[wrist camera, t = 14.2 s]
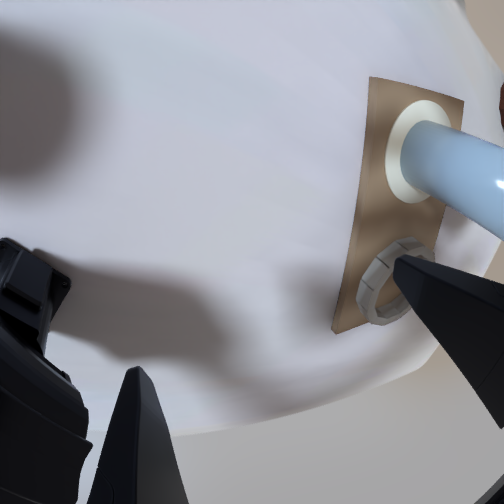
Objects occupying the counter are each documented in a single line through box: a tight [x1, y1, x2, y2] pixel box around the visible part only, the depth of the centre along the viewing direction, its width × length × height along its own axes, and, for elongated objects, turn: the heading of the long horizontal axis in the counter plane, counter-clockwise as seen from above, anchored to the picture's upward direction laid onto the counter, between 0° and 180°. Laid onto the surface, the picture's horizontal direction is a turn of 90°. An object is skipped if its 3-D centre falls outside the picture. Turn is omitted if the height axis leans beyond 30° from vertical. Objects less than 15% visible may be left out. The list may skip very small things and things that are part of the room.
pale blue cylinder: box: [400, 120, 504, 241], centre depth 19 cm, size 9×6×12 cm
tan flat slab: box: [331, 77, 464, 334], centre depth 27 cm, size 26×13×3 cm, turn 0°
